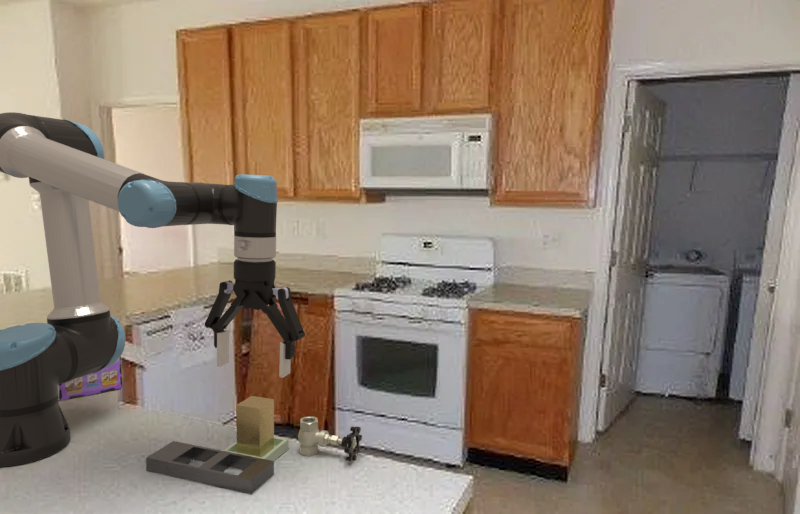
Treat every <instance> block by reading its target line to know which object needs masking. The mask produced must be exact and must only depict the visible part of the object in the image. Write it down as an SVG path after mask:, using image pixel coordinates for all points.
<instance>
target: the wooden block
mask: <svg viewBox="0 0 800 514" xmlns="http://www.w3.org/2000/svg"><path fill="white" fill-rule="evenodd" d="M274 406H275V399H273V398H267V397H261V396H254V395H250V396H248V398H246V399H244V400H242V401H241V402H239V403H237V404H236V408H235V409H236V411H235V413H236V414H235V415H236V418H235V419H236V421H235V422H236V441H237V453H242V454H247V455H252V456H257V457H263V456H265V455H266V454H267V453H268V452H270V451H271V450H272V449H273V448H274V437H275V408H274Z"/></svg>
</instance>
